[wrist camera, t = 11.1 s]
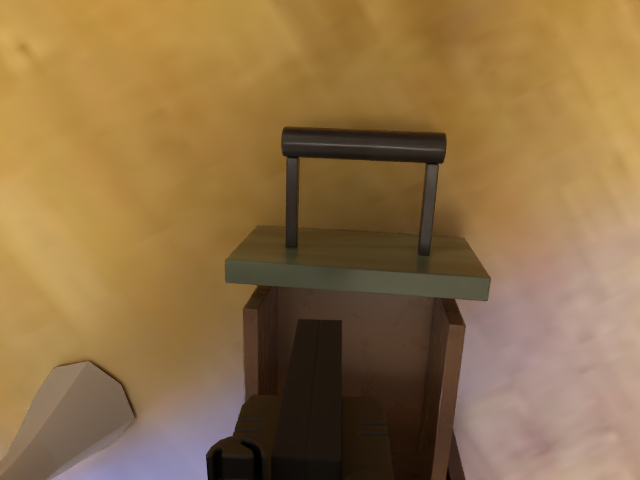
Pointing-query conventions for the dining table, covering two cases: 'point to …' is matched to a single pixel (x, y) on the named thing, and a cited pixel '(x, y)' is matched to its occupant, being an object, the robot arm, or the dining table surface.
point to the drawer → (366, 298)
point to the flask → (67, 423)
